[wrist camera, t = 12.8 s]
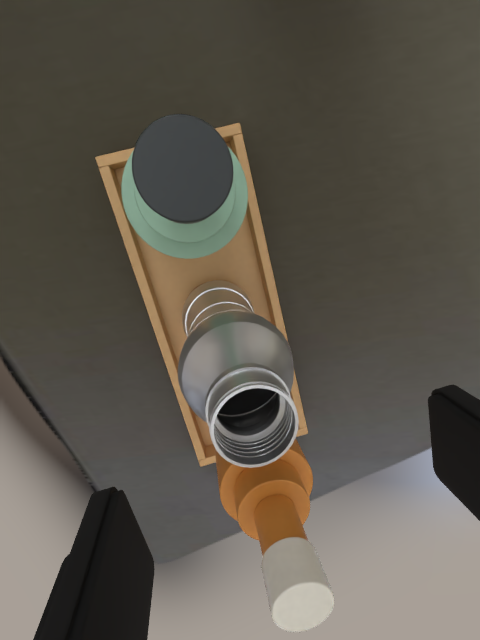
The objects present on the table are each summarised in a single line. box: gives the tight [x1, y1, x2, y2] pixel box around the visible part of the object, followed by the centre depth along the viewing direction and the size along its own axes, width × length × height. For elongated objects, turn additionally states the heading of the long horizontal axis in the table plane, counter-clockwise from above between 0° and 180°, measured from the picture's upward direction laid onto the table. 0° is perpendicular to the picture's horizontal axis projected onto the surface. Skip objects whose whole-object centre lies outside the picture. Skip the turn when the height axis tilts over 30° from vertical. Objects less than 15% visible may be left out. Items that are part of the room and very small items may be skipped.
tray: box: [95, 123, 308, 467], centre depth 32 cm, size 30×12×3 cm, turn 14°
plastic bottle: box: [178, 280, 299, 468], centre depth 23 cm, size 6×7×20 cm
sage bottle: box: [121, 114, 248, 259], centre depth 20 cm, size 6×6×20 cm
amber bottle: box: [215, 438, 334, 632], centre depth 25 cm, size 6×6×20 cm
